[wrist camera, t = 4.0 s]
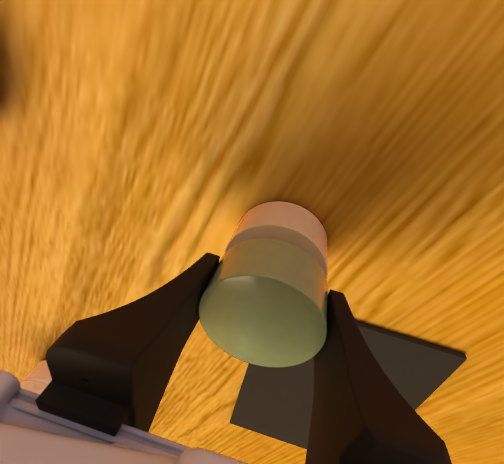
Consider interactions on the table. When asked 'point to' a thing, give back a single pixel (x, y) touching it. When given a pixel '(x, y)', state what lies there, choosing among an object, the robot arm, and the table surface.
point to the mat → (302, 384)
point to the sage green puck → (266, 304)
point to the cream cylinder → (284, 228)
